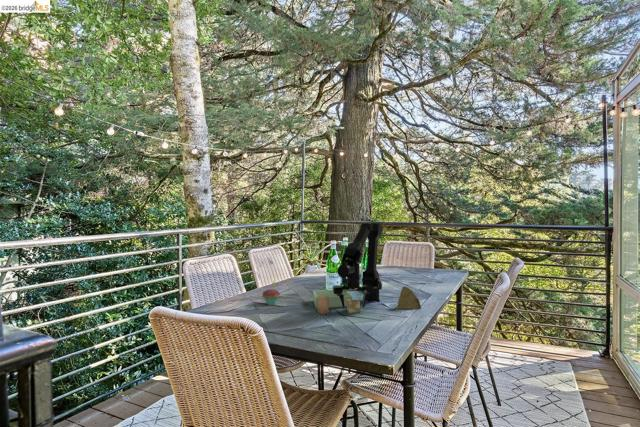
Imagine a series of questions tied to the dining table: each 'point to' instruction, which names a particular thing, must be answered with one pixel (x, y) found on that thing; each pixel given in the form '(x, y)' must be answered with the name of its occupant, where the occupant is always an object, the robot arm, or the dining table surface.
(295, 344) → the dining table surface
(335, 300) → the tote
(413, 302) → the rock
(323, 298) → the tan capsule
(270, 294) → the cupcake
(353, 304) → the maple cube
